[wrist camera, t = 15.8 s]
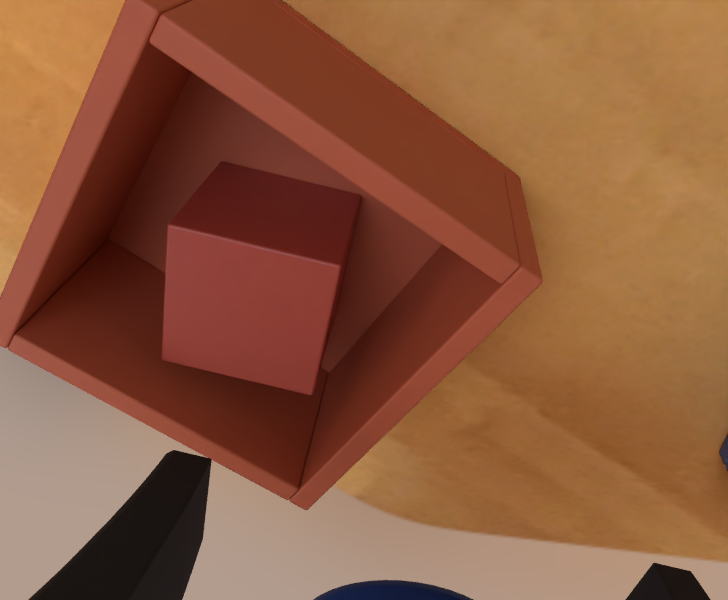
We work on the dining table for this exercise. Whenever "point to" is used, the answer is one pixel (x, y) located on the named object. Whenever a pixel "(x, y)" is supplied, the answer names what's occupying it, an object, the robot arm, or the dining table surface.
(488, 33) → the dining table surface
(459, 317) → the red bin
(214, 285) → the red block
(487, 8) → the dining table surface
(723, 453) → the blue bin
